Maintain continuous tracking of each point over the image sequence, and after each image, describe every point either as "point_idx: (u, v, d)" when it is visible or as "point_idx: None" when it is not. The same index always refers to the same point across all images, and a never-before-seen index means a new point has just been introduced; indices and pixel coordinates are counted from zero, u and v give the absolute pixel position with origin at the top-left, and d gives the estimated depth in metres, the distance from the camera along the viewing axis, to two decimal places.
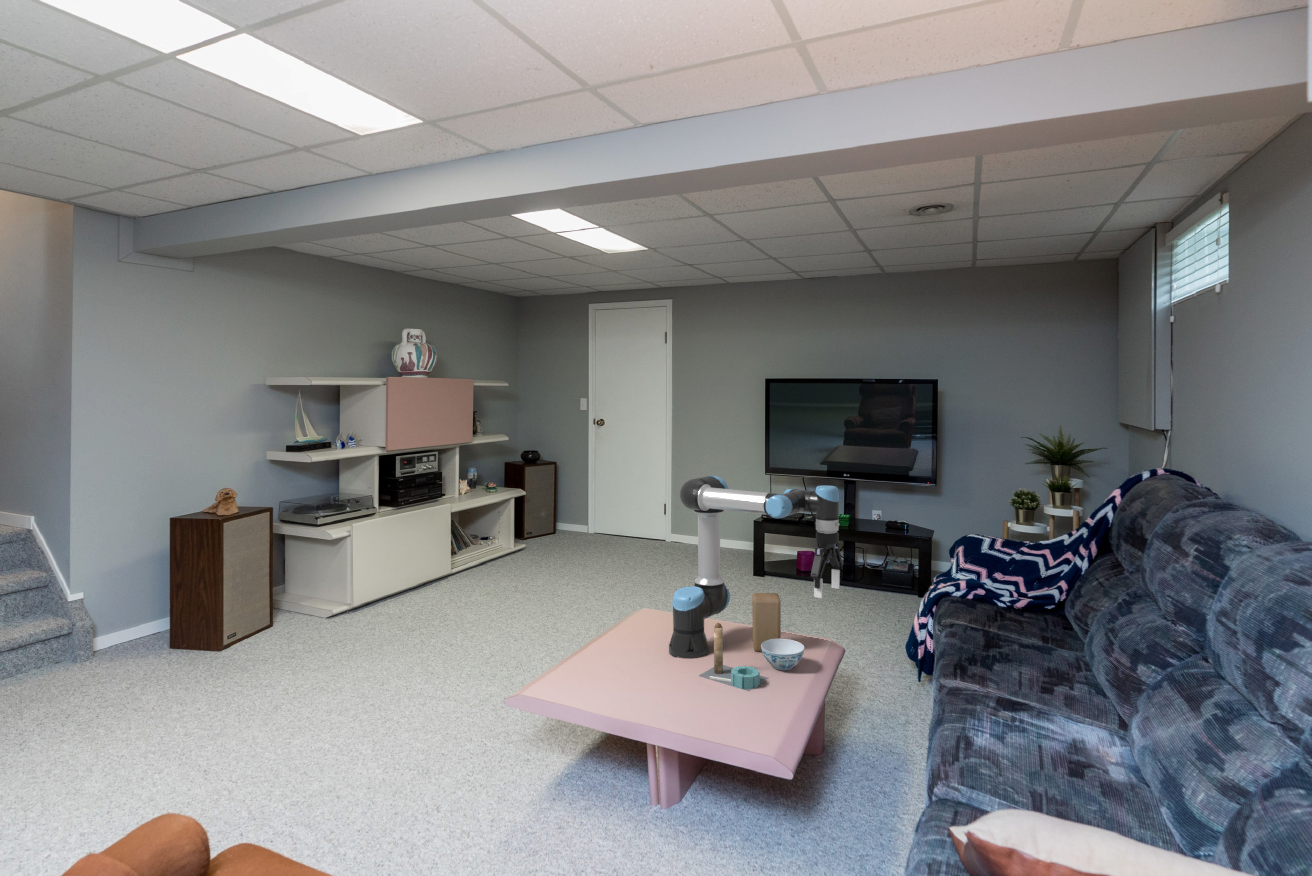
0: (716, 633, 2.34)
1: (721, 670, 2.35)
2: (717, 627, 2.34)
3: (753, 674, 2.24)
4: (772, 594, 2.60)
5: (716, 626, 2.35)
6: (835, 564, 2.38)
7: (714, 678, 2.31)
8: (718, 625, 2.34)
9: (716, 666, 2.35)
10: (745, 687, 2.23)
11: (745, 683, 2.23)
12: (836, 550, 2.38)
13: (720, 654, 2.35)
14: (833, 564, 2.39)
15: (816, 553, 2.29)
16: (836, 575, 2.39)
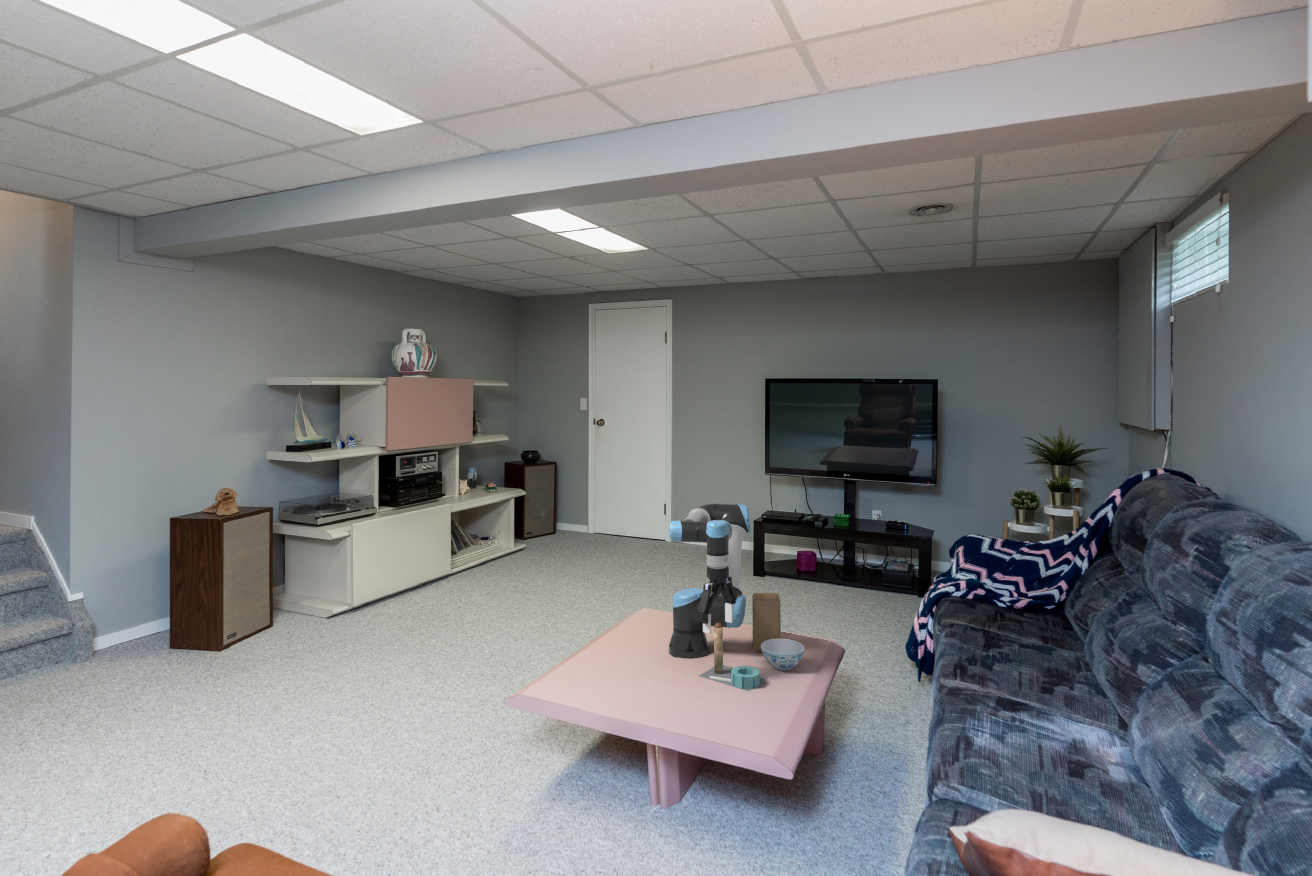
0: (716, 633, 2.34)
1: (721, 670, 2.35)
2: (717, 627, 2.34)
3: (753, 674, 2.24)
4: (772, 594, 2.60)
5: (716, 626, 2.35)
6: (728, 598, 2.39)
7: (714, 678, 2.31)
8: (718, 625, 2.34)
9: (716, 666, 2.35)
10: (745, 687, 2.23)
11: (745, 683, 2.23)
12: (729, 584, 2.39)
13: (720, 654, 2.35)
14: (726, 598, 2.39)
15: (704, 588, 2.29)
16: (729, 609, 2.40)
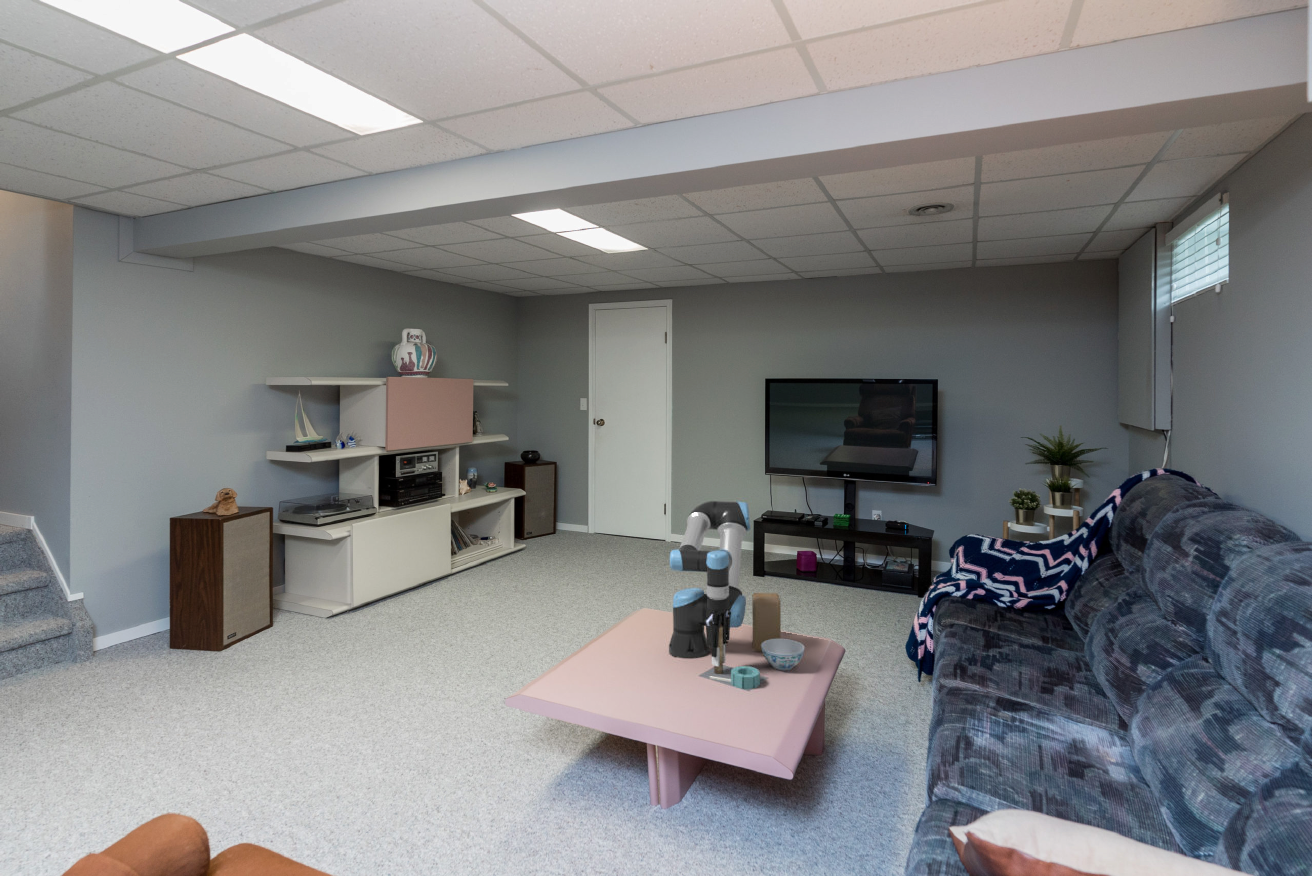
0: None
1: (721, 670, 2.35)
2: None
3: (753, 674, 2.24)
4: (772, 594, 2.60)
5: None
6: None
7: (714, 678, 2.31)
8: None
9: (716, 666, 2.35)
10: (745, 687, 2.23)
11: (745, 683, 2.23)
12: (727, 619, 2.38)
13: (720, 654, 2.35)
14: None
15: (706, 624, 2.31)
16: None
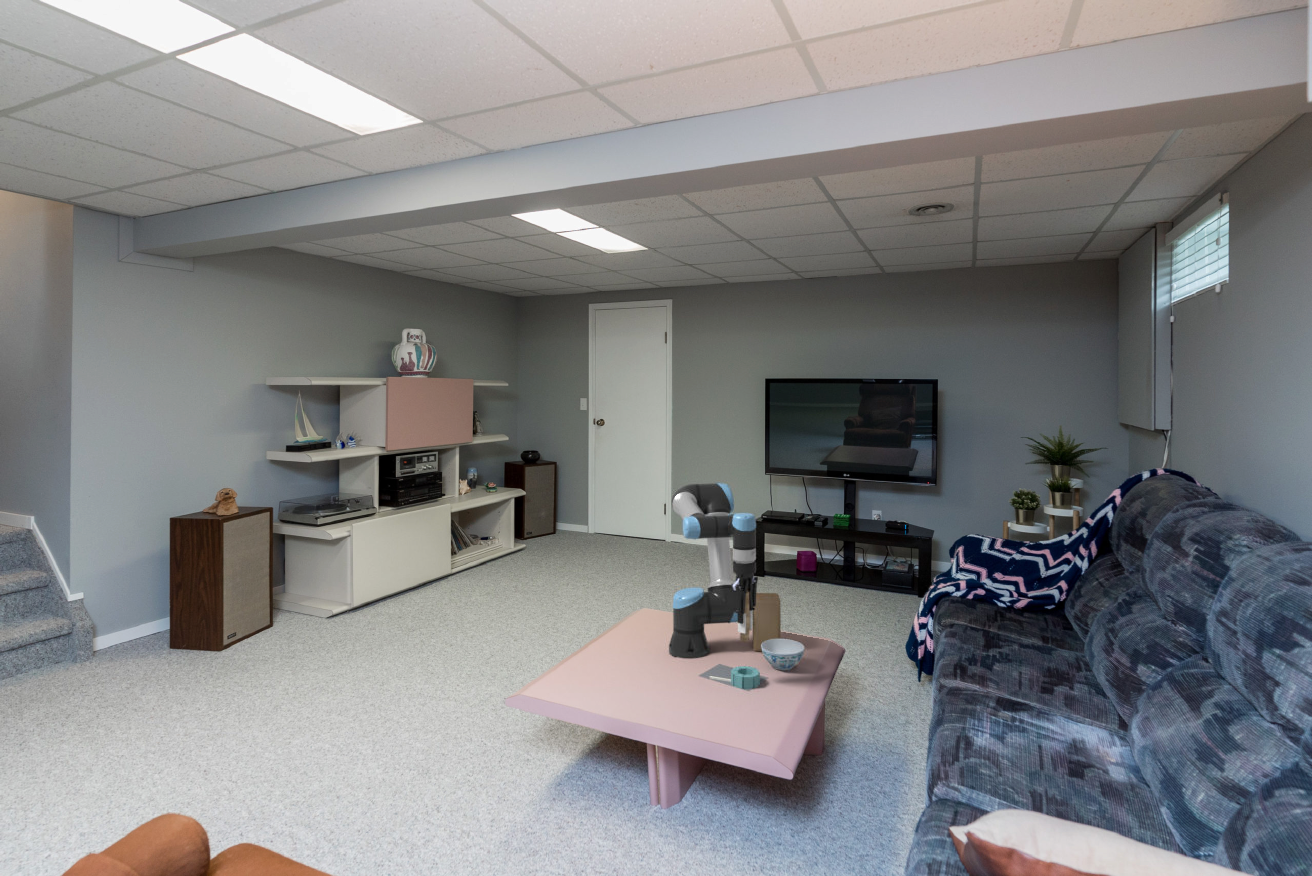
0: None
1: (748, 637, 2.25)
2: None
3: (753, 674, 2.24)
4: (772, 594, 2.60)
5: None
6: None
7: (714, 678, 2.31)
8: None
9: (742, 633, 2.25)
10: (745, 687, 2.23)
11: (745, 683, 2.23)
12: (753, 584, 2.28)
13: (747, 620, 2.25)
14: None
15: (733, 589, 2.21)
16: None
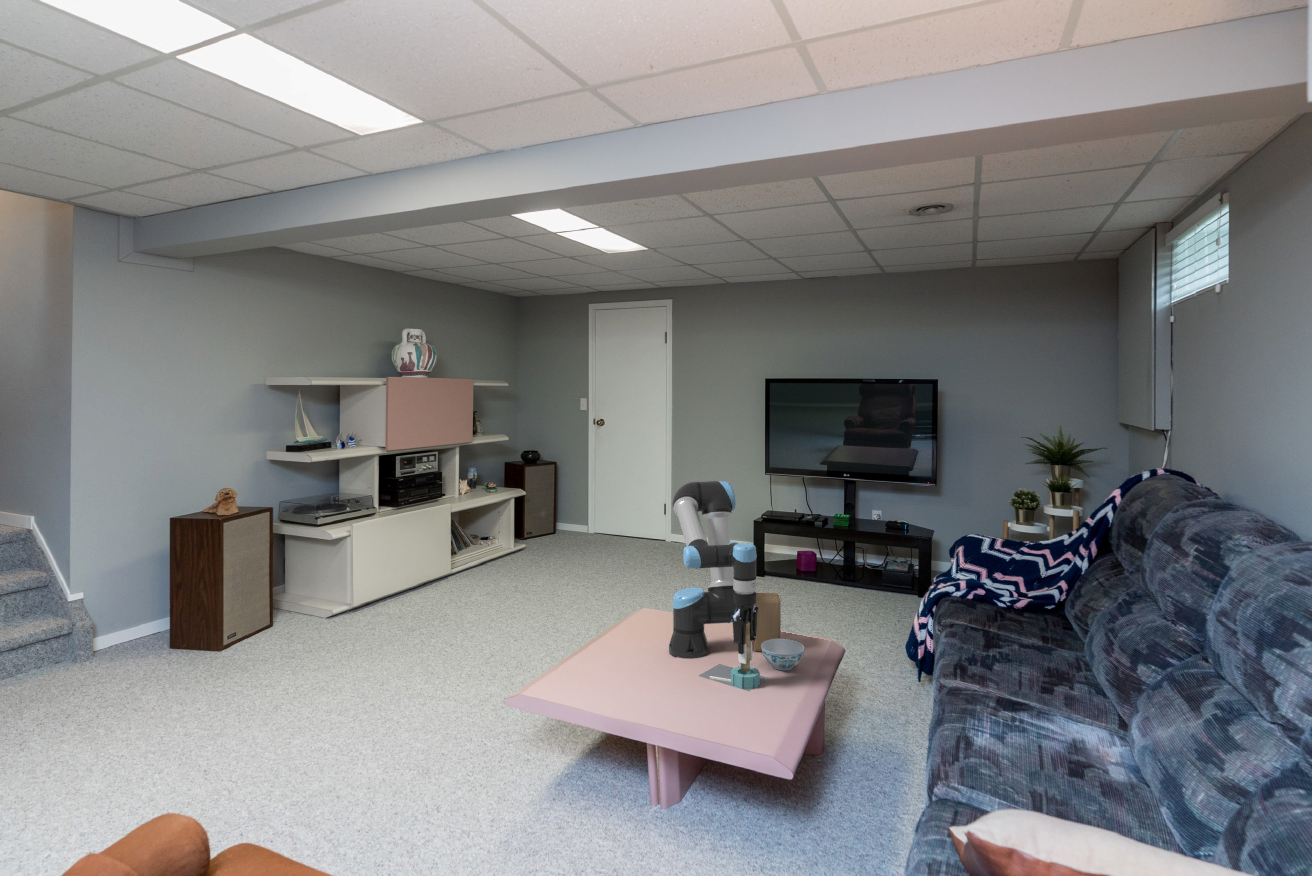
0: None
1: (748, 668, 2.26)
2: None
3: (753, 674, 2.24)
4: (772, 594, 2.60)
5: None
6: None
7: (714, 678, 2.31)
8: None
9: None
10: (745, 687, 2.23)
11: (745, 683, 2.23)
12: (753, 614, 2.29)
13: (747, 651, 2.25)
14: None
15: (733, 620, 2.22)
16: None
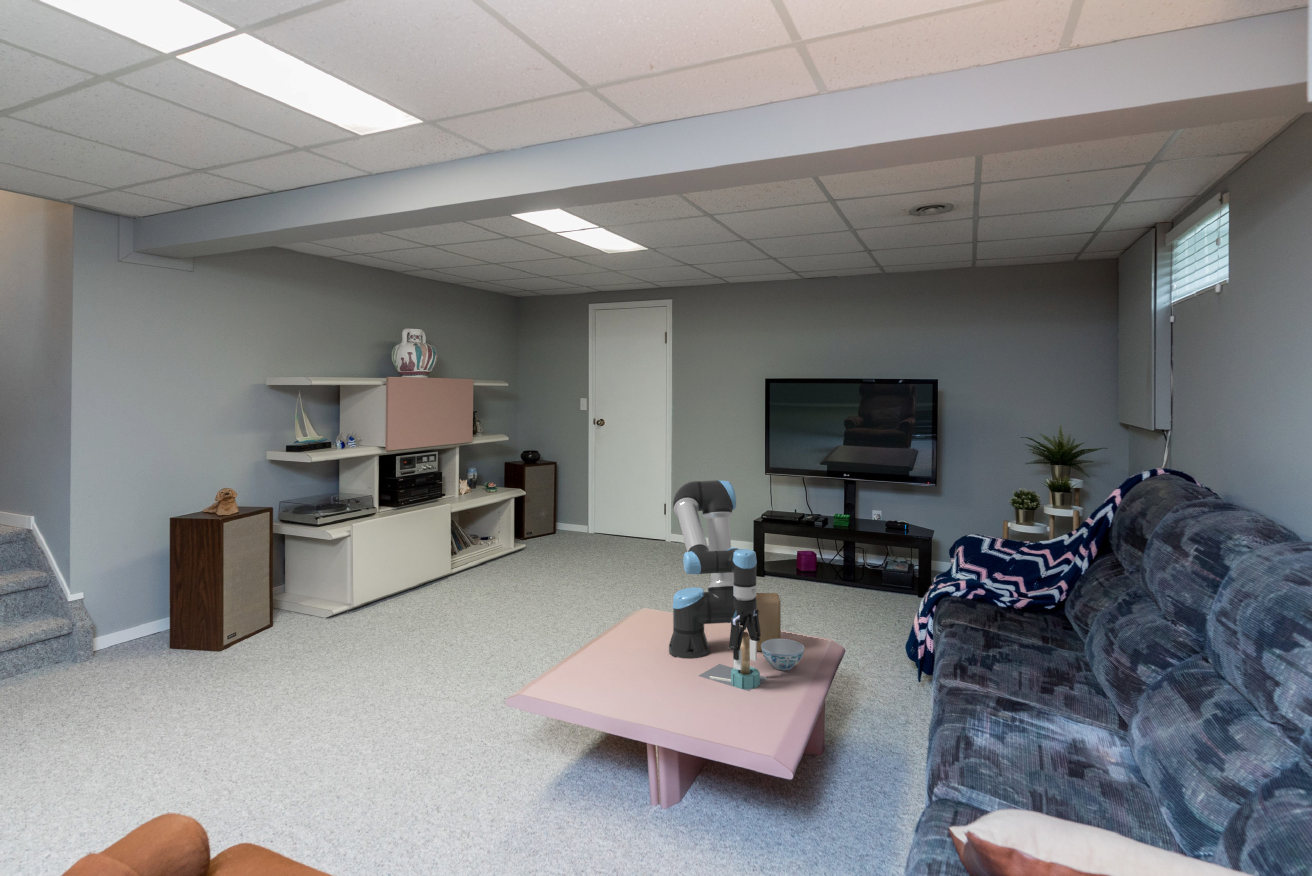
0: (743, 642, 2.25)
1: None
2: (744, 636, 2.25)
3: (753, 674, 2.24)
4: (772, 594, 2.60)
5: (743, 635, 2.25)
6: (752, 633, 2.29)
7: (714, 678, 2.31)
8: (745, 634, 2.25)
9: None
10: (745, 687, 2.23)
11: (745, 683, 2.23)
12: (755, 617, 2.30)
13: (747, 664, 2.26)
14: (750, 633, 2.30)
15: (732, 624, 2.21)
16: (753, 646, 2.30)
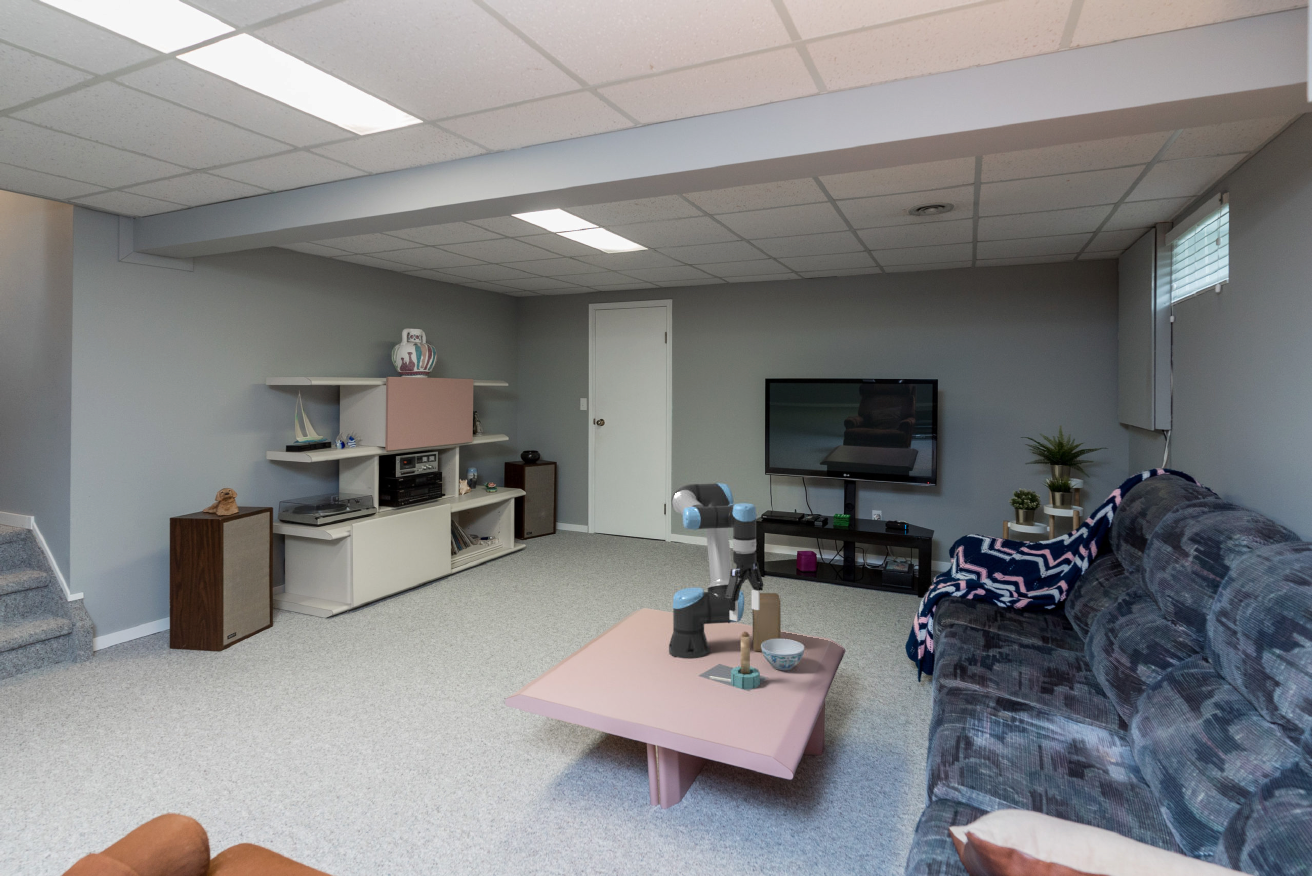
0: (743, 642, 2.25)
1: None
2: (744, 636, 2.25)
3: (753, 674, 2.24)
4: (772, 594, 2.60)
5: (743, 635, 2.26)
6: (754, 585, 2.30)
7: (714, 678, 2.31)
8: (745, 634, 2.25)
9: None
10: (745, 687, 2.23)
11: (745, 683, 2.23)
12: (755, 570, 2.29)
13: (747, 664, 2.26)
14: (753, 584, 2.30)
15: (731, 574, 2.20)
16: (756, 596, 2.30)
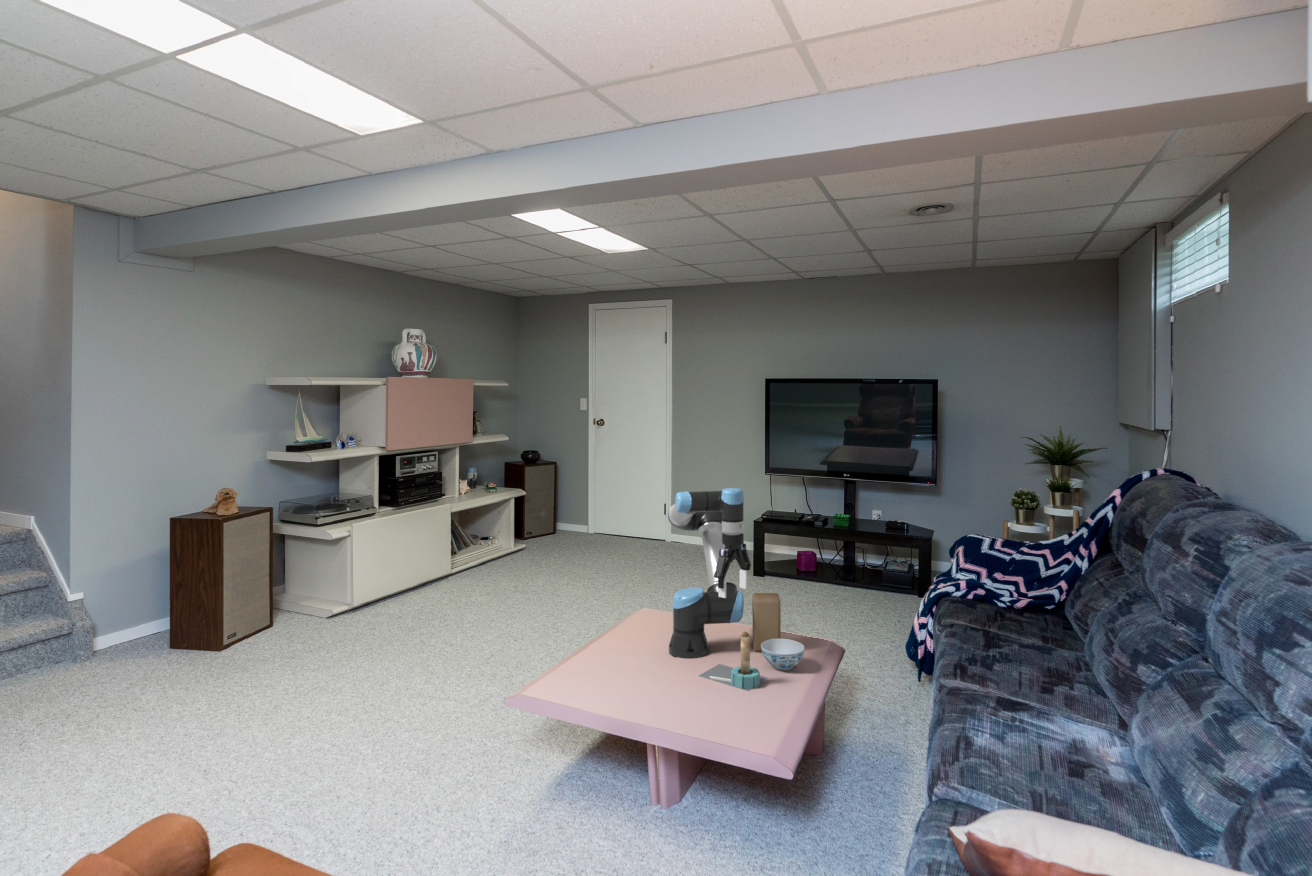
0: (743, 642, 2.25)
1: None
2: (744, 636, 2.25)
3: (753, 674, 2.24)
4: (772, 594, 2.60)
5: (743, 635, 2.26)
6: (742, 565, 2.44)
7: (714, 678, 2.31)
8: (745, 634, 2.25)
9: None
10: (745, 687, 2.23)
11: (745, 683, 2.23)
12: (743, 551, 2.44)
13: (747, 664, 2.26)
14: (740, 565, 2.45)
15: (720, 554, 2.34)
16: (744, 575, 2.45)
